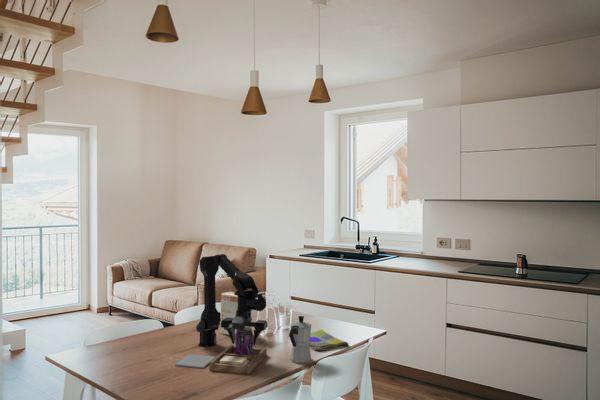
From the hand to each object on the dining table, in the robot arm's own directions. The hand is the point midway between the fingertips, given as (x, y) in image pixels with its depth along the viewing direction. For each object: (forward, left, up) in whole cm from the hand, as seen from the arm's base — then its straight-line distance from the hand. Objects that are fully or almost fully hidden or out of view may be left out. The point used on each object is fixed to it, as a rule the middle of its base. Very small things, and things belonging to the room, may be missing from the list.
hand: (244, 344), depth 196 cm
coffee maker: (+23, +3, -6) cm, 24 cm away
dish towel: (+27, +30, -6) cm, 40 cm away
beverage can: (0, 0, -6) cm, 6 cm away
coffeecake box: (-15, +31, -6) cm, 35 cm away
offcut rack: (0, -5, -6) cm, 8 cm away
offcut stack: (0, -11, -6) cm, 12 cm away
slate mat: (-17, -9, -6) cm, 20 cm away
